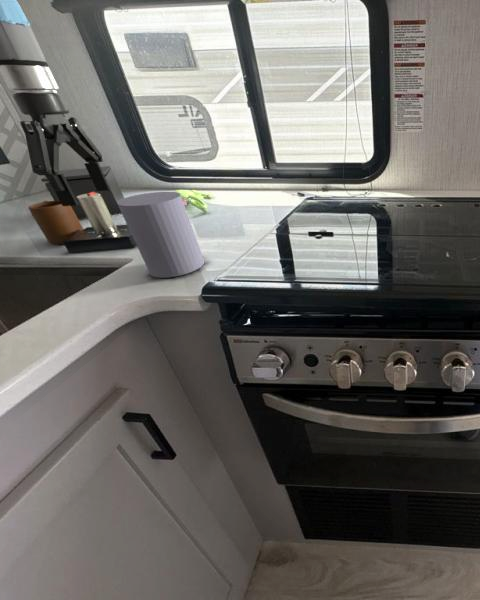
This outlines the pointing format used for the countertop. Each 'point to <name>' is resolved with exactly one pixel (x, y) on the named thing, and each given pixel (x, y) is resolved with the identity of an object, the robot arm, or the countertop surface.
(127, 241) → the panel
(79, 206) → the dark grey box
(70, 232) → the mug
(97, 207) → the cream silver cylinder
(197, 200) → the figurine
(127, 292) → the countertop surface
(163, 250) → the container
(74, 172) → the lid
